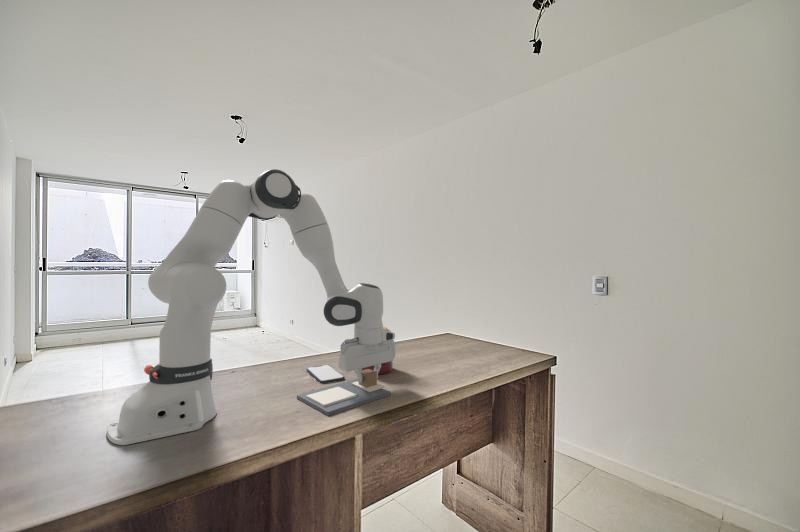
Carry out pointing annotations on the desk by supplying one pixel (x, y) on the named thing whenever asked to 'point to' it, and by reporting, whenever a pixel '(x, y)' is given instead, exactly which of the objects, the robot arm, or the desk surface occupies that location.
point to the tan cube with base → (369, 381)
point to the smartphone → (325, 374)
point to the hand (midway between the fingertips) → (367, 380)
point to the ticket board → (340, 397)
